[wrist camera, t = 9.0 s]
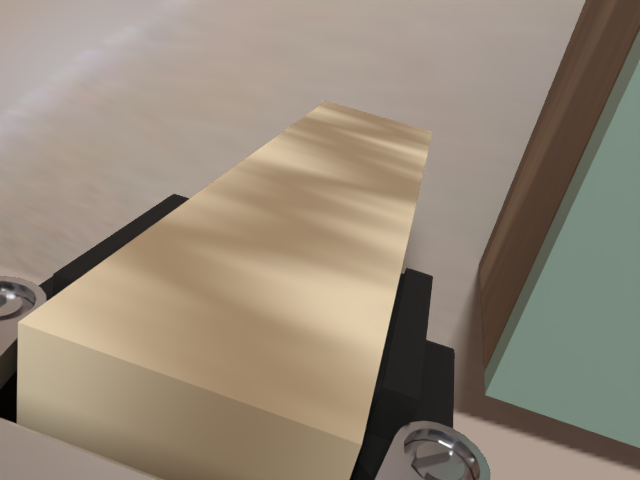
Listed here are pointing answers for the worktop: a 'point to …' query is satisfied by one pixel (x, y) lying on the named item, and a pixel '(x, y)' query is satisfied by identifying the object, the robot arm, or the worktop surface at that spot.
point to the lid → (585, 289)
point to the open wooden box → (553, 155)
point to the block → (239, 314)
